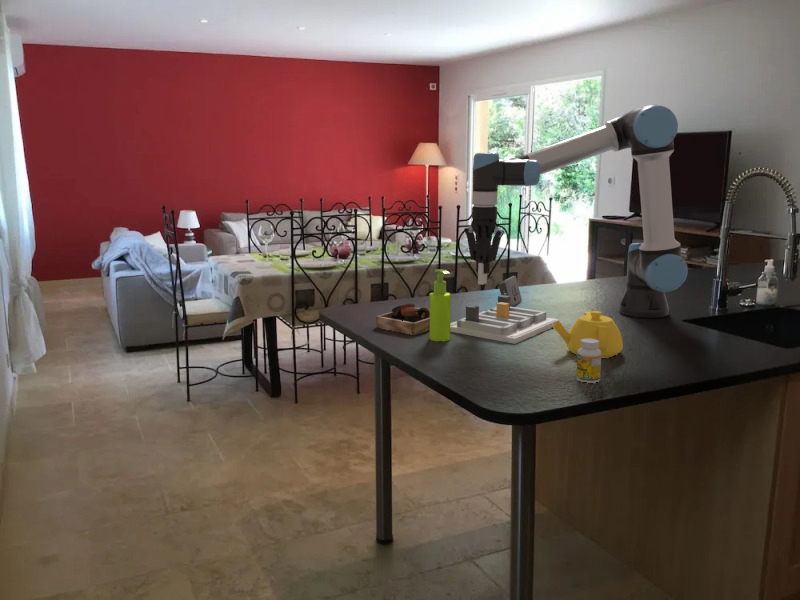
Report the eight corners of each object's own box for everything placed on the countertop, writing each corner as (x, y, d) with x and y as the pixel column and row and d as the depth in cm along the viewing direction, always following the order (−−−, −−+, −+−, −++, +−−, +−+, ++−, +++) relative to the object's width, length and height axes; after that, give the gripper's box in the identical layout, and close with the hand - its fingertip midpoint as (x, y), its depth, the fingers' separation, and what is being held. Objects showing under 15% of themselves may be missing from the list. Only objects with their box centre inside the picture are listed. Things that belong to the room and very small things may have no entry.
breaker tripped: (509, 321, 209) (509, 303, 207) (504, 323, 206) (504, 304, 205) (500, 320, 211) (501, 301, 209) (495, 322, 208) (496, 303, 207)
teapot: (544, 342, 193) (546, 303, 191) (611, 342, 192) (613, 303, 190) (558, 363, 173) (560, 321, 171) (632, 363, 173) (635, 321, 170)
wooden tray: (448, 323, 214) (448, 312, 213) (414, 335, 201) (414, 323, 200) (410, 317, 223) (409, 306, 222) (375, 327, 210) (375, 316, 209)
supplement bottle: (604, 382, 159) (607, 342, 157) (586, 385, 157) (588, 344, 155) (589, 375, 164) (591, 336, 162) (571, 378, 162) (573, 339, 160)
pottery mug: (393, 333, 205) (386, 307, 208) (397, 339, 215) (391, 314, 217) (432, 323, 205) (425, 297, 207) (435, 329, 214) (428, 304, 216)
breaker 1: (479, 325, 205) (479, 306, 204) (473, 327, 203) (473, 308, 202) (470, 323, 207) (470, 304, 206) (465, 325, 205) (465, 306, 203)
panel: (559, 324, 212) (559, 313, 211) (514, 343, 191) (514, 331, 190) (492, 313, 226) (492, 302, 226) (444, 330, 206) (444, 318, 205)
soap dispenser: (438, 343, 192) (438, 272, 188) (425, 337, 198) (425, 268, 194) (456, 340, 195) (456, 270, 191) (443, 335, 201) (443, 267, 197)
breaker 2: (510, 314, 219) (510, 296, 217) (505, 315, 216) (505, 297, 215) (502, 312, 220) (502, 294, 219) (497, 314, 218) (497, 296, 217)
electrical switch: (513, 306, 236) (511, 280, 234) (498, 306, 238) (497, 280, 237) (522, 301, 244) (520, 275, 242) (508, 301, 246) (506, 275, 245)
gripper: (510, 206, 204) (507, 284, 209) (473, 203, 212) (471, 279, 217) (496, 207, 199) (494, 288, 204) (459, 205, 207) (457, 282, 212)
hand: (482, 283), depth 211 cm, fingers closed
